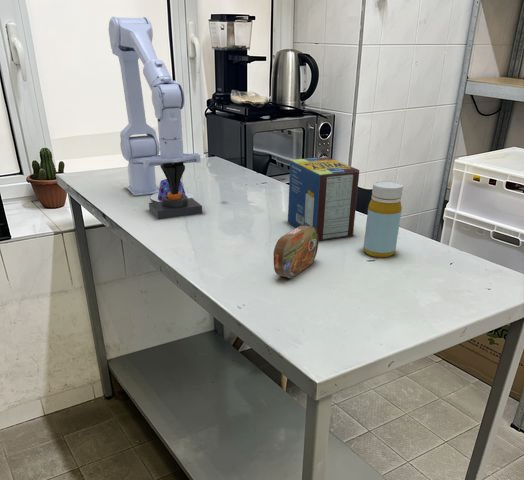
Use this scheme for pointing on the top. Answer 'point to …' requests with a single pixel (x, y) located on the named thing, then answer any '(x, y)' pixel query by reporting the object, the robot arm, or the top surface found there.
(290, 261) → the tin
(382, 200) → the bottle
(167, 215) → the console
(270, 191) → the top surface
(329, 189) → the protein box
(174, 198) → the button
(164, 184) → the pudding
